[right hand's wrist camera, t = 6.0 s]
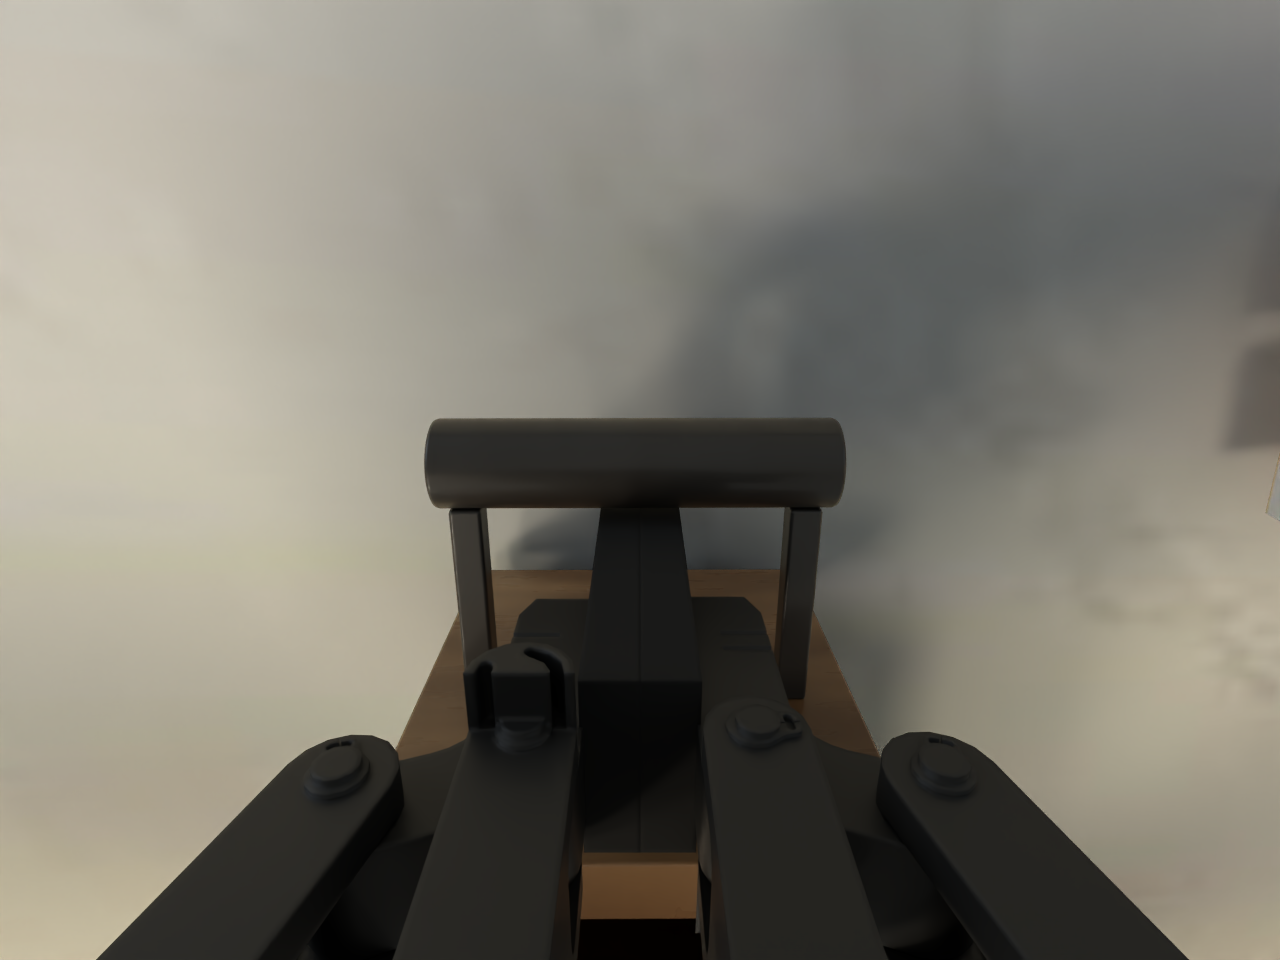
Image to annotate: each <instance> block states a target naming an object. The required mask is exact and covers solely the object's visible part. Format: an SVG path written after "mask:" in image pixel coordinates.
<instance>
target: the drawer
mask: <svg viewBox="0 0 1280 960" xmlns="http://www.w3.org/2000/svg"><path fill="white" fill-rule="evenodd" d="M424 470H425V480H426V486H427V491H428V494H429V497H430V500H431V502H432V504H433V505H434V506H435V507H438V508H451V509H450V511H449V521H450V531H451V541H452V551H453V561H454V571H455V581H456V592H457V602H458V614H457V616H456V618H455V621H454V623H453V625H452V627H451V629H450V632H449V634H448V636H447V638H446V640H445V642H444V645H443V647H442V649H441V651H440V653H439V656H438V658H437V660H436V662H435V664H434V666H433V669H432V671H431V673H430V675H429V677H428V680H427V682H426V684H425V686H424V688H423V690H422V693H421V695H420V697H419V699H418V701H417V703H416V706H415V708H414V710H413V712H412V714H411V717H410V719H409V721H408V723H407V725H406V727H405V730H404V732H403V734H402V736H401V738H400V741H399V743H398V745H397V747H396V749H395V750H396V751H397V752H398V757H399V761H400V760H404V759H408V758H412V757H417V756H421V755H425V754H429V753H433V752H436V751H440V750H443V749H446V748H449V747H451V746H453V745H455V744H457V743H459V742H461V741H463V740H464V739H466V737H467V734H468V731H469V729H468V719H467V709H466V700H465V690H464V680H463V672H464V671H465V669H466V668H467V667H468V665H469V664H470V662H471V661H472V660H474V659H475V658H477V657H478V656H480V655H481V654H483V653H484V652H486V651H487V650H490V649H493V648H496V647H499V646H502V645H505V644H510V643H511V640H512V637H513V635H514V634H513V633H514V630H515V627H516V623H517V620H518V617H519V614H520V613H522V612H523V611H524V610H525V609H526V608H527V607H528V606H529V605H530V604H531V603H532V602H533V601H534V600H535V599H589V593H590V586H591V578H592V571H593V570H491V559H490V546H489V534H488V521H487V509H486V508H783V507H785V511H784V524H783V538H782V551H781V565H780V569H764V570H687V571H688V578H689V586H690V593H691V597H745V598H746V599H747V600H748V601H749V602H750V603H751V604H752V605H753V606H755V607H756V608H757V609H758V610H759V611H760V612H761V614H762V617H763V621H764V624H765V627H766V630H767V635H768V637H769V640H770V643H771V649H772V650H773V653H774V656H775V660H776V663H777V666H778V669H779V673H780V676H781V679H782V682H783V686H784V689H785V692H786V695H787V699H788V702H789V705H790V707H792V708H793V709H794V710H796V711H797V712H798V713H800V714H801V715H802V716H803V717H804V718H805V720H806V722H807V723H808V725H809V726H810V728H811V730H812V733H813V735H814V736H815V737H817V738H819V739H821V740H823V741H825V742H827V743H829V744H831V745H834V746H837V747H840V748H843V749H846V750H850V751H854V752H859V753H863V754H867V755H871V756H876V757H880V754H879V752H878V750H877V748H876V746H875V744H874V741H873V739H872V737H871V735H870V733H869V730H868V728H867V726H866V724H865V722H864V720H863V717H862V715H861V713H860V711H859V709H858V707H857V704H856V702H855V700H854V698H853V696H852V694H851V691H850V689H849V687H848V685H847V683H846V681H845V678H844V676H843V674H842V672H841V670H840V668H839V665H838V663H837V661H836V659H835V657H834V655H833V652H832V650H831V648H830V646H829V644H828V642H827V639H826V637H825V635H824V633H823V631H822V628H821V626H820V624H819V622H818V620H817V618H816V615H815V613H814V611H813V607H814V596H815V586H816V575H817V564H818V554H819V543H820V532H821V522H822V510H821V508H820V507H833V506H836V505H837V504H838V502H839V501H840V498H841V496H842V492H843V489H844V484H845V477H846V447H845V440H844V436H843V432H842V429H841V426H840V424H839V422H838V421H837V420H835V419H833V418H474V419H437V420H435V421H433V422H432V424H431V426H430V428H429V431H428V434H427V439H426V444H425V454H424ZM880 758H881V757H880ZM582 879H583V895H582V907H581V919H580V931H579V944H578V956H577V960H703V955H702V943H701V933H695V932H696V905H697V879H698V849H697V844H696V853H584V844H583V852H582Z"/></svg>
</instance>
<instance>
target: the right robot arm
mask: <svg viewBox="0 0 1280 960" xmlns="http://www.w3.org/2000/svg"><path fill="white" fill-rule="evenodd" d="M513 634H514V635H513V637H512V640H511V643H510V644H505V645H502V646H499V647H496V648H493V649H490V650H487V651H486V652H484V653H483V654H481V655H480V656H478V657H477V658H475V659H474V660H472V661H471V662H470V664H469V665H468V667H467V668H466V669H465V671H464V672H463V680H464V690H465V700H466V709H467V719H468V729H469V731H468V734H467V737H466V739H464V740H463V741H461V742H459V743H457V744H455V745H453V746H451V747H449V748H446V749H443V750H440V751H436V752H433V753H429V754H425V755H421V756H417V757H412V758H408V759H404V760H400V761H399V757H398V752H397V751H396V750H395V749H394V748H393V746H392V745H391V744H390V743H389V742H388V741H385V740H383V739H380V738H377V737H375V736H372V735H349V736H344V737H339V738H335V739H330V740H327V741H325V742H323V743H321V744H318V745H316V746H314V747H312V748H310V749H308V750H306V751H304V752H303V753H302V754H301V755H299V756H298V757H297V758H295V759H294V760H293V761H291V762H290V763H289V764H288V765H287V766H286V767H285V768H284V769H283V770H282V771H281V772H280V773H279V774H278V775H277V776H276V777H275V778H274V779H273V780H272V781H271V782H270V783H269V784H268V785H267V786H266V787H265V788H264V789H263V790H262V791H261V792H260V793H259V794H258V795H257V796H256V797H255V798H254V799H253V800H252V801H251V802H250V803H249V804H248V805H247V806H246V807H245V808H244V809H243V811H242V812H241V813H240V814H239V815H238V816H237V817H236V818H235V819H234V820H233V821H232V822H231V823H230V824H229V825H228V826H227V827H226V828H225V829H224V830H223V831H222V832H221V833H220V834H219V835H218V836H217V837H216V838H215V839H214V840H213V841H212V842H211V843H210V844H209V845H208V846H207V847H206V848H205V849H204V850H203V851H202V852H201V853H200V854H199V855H198V856H197V857H196V858H195V859H194V860H193V861H192V863H191V864H190V865H189V866H188V867H187V868H186V869H185V870H184V871H183V872H182V873H181V874H180V875H179V876H178V877H177V878H176V879H175V880H174V881H173V882H172V883H171V884H170V885H169V886H168V887H167V888H166V889H165V890H164V891H163V892H162V893H161V894H160V895H159V896H158V897H157V898H156V899H155V900H154V901H153V902H152V903H151V904H150V905H149V906H148V907H147V908H146V909H145V910H144V911H143V912H142V914H141V915H140V916H139V917H138V918H137V919H136V920H135V921H134V922H133V923H132V924H131V925H130V926H129V927H128V928H127V929H126V930H125V931H124V932H123V933H122V934H121V935H120V936H119V937H118V938H117V939H116V940H115V941H114V942H113V943H112V944H111V945H110V946H109V947H108V948H107V949H106V950H105V951H104V952H103V953H102V954H101V955H100V956H99V957H98V958H97V959H96V960H577V956H578V944H579V931H580V919H581V907H582V895H583V879H582V852H583V844H584V853H696V844H697V849H698V879H697V905H696V932H695V933H701V943H702V955H703V960H1189V959H1188V958H1187V957H1186V956H1185V955H1184V954H1183V953H1182V952H1181V951H1180V950H1179V949H1178V948H1177V947H1176V946H1175V945H1174V944H1173V943H1172V942H1171V941H1170V940H1169V939H1168V938H1167V937H1166V936H1165V935H1164V934H1163V933H1162V932H1161V931H1160V930H1159V929H1158V928H1157V927H1156V926H1155V925H1154V924H1153V923H1152V922H1151V921H1150V920H1149V919H1148V918H1147V917H1146V916H1145V915H1144V914H1143V913H1142V912H1141V911H1140V910H1139V909H1138V908H1137V907H1136V906H1135V905H1134V904H1133V903H1132V902H1131V901H1130V900H1129V899H1128V898H1127V897H1126V896H1125V895H1124V894H1123V893H1122V891H1121V890H1120V889H1119V888H1118V887H1117V886H1116V885H1115V884H1114V883H1113V882H1112V881H1111V880H1110V879H1109V878H1108V877H1107V876H1106V875H1105V874H1104V873H1103V872H1102V871H1101V870H1100V869H1099V868H1098V867H1097V866H1096V865H1095V864H1094V863H1093V862H1092V861H1091V860H1090V859H1089V858H1088V857H1087V856H1086V855H1085V854H1084V853H1083V852H1082V851H1081V850H1080V849H1079V848H1078V847H1077V846H1076V845H1075V844H1074V843H1073V842H1072V841H1071V840H1070V839H1069V838H1068V837H1067V836H1066V835H1065V834H1064V833H1063V832H1062V831H1061V830H1060V829H1059V828H1058V827H1057V826H1056V825H1055V824H1054V823H1053V822H1052V821H1051V820H1050V819H1049V818H1048V817H1047V816H1046V815H1045V814H1044V812H1043V811H1042V810H1041V809H1040V808H1039V807H1038V806H1037V805H1036V804H1035V803H1034V802H1033V801H1032V800H1031V799H1030V798H1029V797H1028V796H1027V795H1026V794H1025V793H1024V792H1023V791H1022V790H1021V789H1020V788H1019V787H1018V786H1017V785H1016V784H1015V783H1014V782H1013V781H1012V780H1011V779H1010V778H1009V777H1008V776H1007V775H1006V774H1005V773H1004V772H1003V771H1002V770H1001V769H1000V768H999V767H998V766H997V765H996V764H995V763H994V762H993V761H992V760H991V759H989V758H988V757H987V756H985V755H984V754H983V753H981V752H980V751H979V750H978V749H976V748H975V747H973V746H971V745H969V744H967V743H964V742H962V741H960V740H958V739H956V738H953V737H950V736H946V735H941V734H936V733H932V732H910V733H906V734H903V735H901V736H898V737H895V738H893V739H891V741H890V742H889V743H888V744H887V745H886V746H885V748H884V749H883V750H882V757H881V758H880V757H876V756H871V755H867V754H863V753H859V752H854V751H850V750H846V749H843V748H840V747H837V746H834V745H831V744H829V743H827V742H825V741H823V740H821V739H819V738H817V737H815V736H814V735H813V733H812V730H811V728H810V726H809V725H808V723H807V722H806V720H805V718H804V717H803V716H802V715H801V714H800V713H798V712H797V711H796V710H794V709H793V708H792V707H790V705H789V702H788V699H787V695H786V692H785V689H784V686H783V682H782V679H781V676H780V673H779V669H778V666H777V663H776V660H775V656H774V653H773V650H772V649H771V643H770V640H769V637H768V635H767V630H766V627H765V624H764V621H763V617H762V614H761V612H760V611H759V610H758V609H757V608H756V607H755V606H753V605H752V604H751V603H750V602H749V601H748V600H747V599H746V598H745V597H691V593H690V586H689V578H688V571H687V564H686V556H685V549H684V541H683V534H682V527H681V519H680V512H679V508H601V512H600V519H599V527H598V534H597V542H596V549H595V556H594V564H593V571H592V578H591V586H590V593H589V599H535V600H534V601H533V602H532V603H531V604H530V605H529V606H528V607H527V608H526V609H525V610H524V611H523V612H522V613H520V614H519V617H518V620H517V623H516V627H515V630H514V633H513Z"/></svg>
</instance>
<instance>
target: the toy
mask: <svg viewBox="0 0 1280 960" xmlns="http://www.w3.org/2000/svg"><path fill="white" fill-rule="evenodd" d="M1266 513H1267V514H1268V515H1270V516H1272V517H1273V518H1275V519H1277V520H1278V521H1280V454H1279V458H1278V463H1277V467H1276V471H1275V475H1274V480H1273V484H1272V488H1271V492H1270V497H1269V501H1268V505H1267V509H1266Z"/></svg>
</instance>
